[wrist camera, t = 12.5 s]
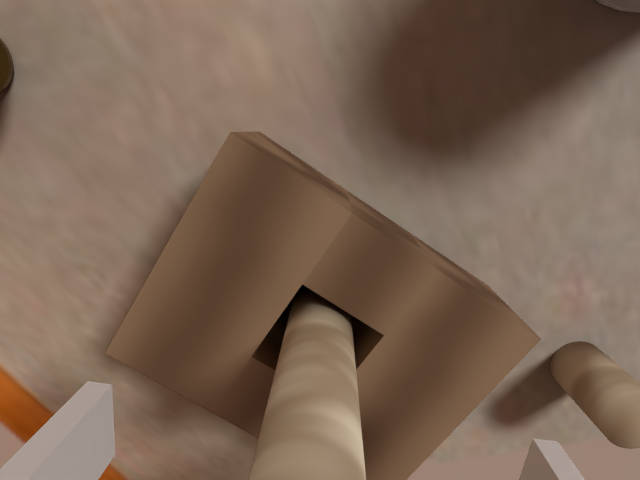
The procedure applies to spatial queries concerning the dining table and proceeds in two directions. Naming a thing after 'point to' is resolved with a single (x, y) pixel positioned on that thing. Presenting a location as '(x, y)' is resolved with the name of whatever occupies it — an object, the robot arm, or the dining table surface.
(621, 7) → the speckled white tub
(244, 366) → the hole block
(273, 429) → the long pin
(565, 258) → the dining table surface
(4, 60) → the olive hollow patterned container
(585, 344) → the short pin
